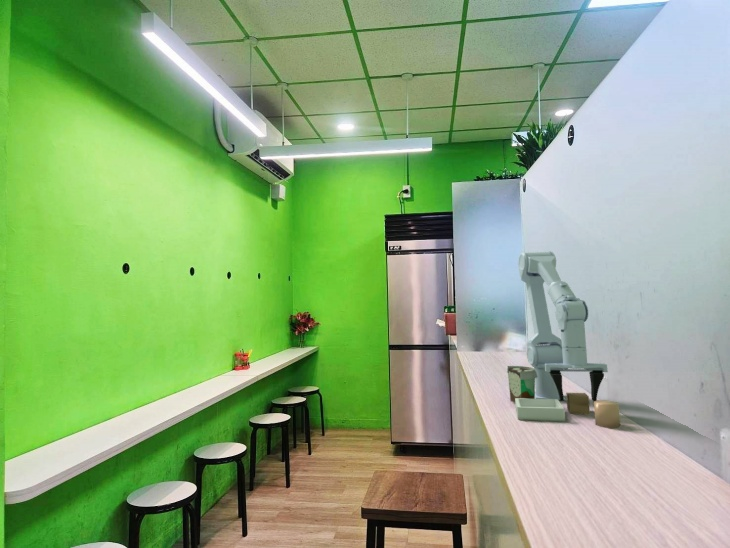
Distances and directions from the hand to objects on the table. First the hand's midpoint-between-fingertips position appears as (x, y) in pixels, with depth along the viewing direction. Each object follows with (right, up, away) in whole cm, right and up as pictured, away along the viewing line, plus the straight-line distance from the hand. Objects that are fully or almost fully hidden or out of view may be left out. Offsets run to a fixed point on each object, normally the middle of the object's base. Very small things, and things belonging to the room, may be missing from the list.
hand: (577, 400), depth 112 cm
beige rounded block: (+1, -2, -13) cm, 13 cm away
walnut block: (0, -3, 0) cm, 3 cm away
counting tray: (-11, -3, -2) cm, 12 cm away
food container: (-10, -4, +10) cm, 14 cm away
